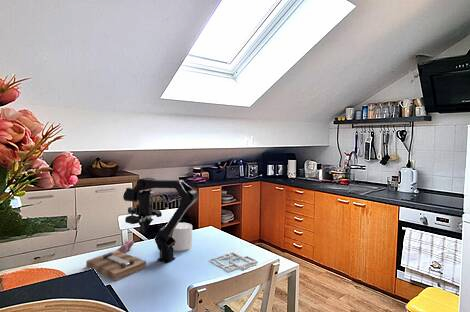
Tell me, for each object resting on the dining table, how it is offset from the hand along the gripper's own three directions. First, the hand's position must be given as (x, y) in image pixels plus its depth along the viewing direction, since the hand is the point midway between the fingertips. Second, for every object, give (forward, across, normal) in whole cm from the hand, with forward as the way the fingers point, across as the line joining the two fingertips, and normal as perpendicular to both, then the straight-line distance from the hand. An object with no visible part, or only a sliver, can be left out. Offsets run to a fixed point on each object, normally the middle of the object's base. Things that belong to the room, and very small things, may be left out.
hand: (144, 233), depth 152 cm
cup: (+12, -21, +6) cm, 25 cm away
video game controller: (+12, +2, -12) cm, 17 cm away
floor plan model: (+13, -25, +42) cm, 51 cm away
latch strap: (+9, +16, +2) cm, 18 cm away
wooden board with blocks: (+12, +16, 0) cm, 20 cm away
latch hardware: (+9, +16, +1) cm, 18 cm away
